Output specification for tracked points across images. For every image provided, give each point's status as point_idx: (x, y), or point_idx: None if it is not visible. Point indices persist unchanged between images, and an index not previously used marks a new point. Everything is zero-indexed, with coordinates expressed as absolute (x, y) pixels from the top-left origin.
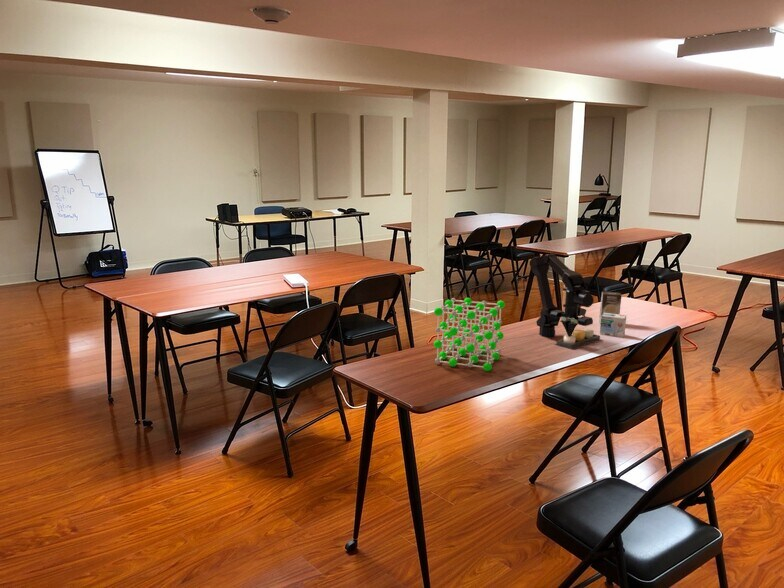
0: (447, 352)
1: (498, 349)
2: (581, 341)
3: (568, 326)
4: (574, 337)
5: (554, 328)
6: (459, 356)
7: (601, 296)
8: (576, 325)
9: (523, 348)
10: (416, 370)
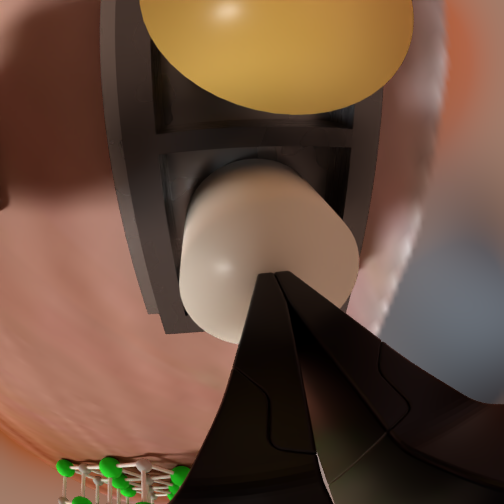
0: (107, 481)
1: (146, 472)
2: (372, 130)
3: (336, 487)
4: (354, 272)
5: None
6: (152, 491)
7: None
8: (474, 404)
9: (100, 398)
10: (167, 497)
